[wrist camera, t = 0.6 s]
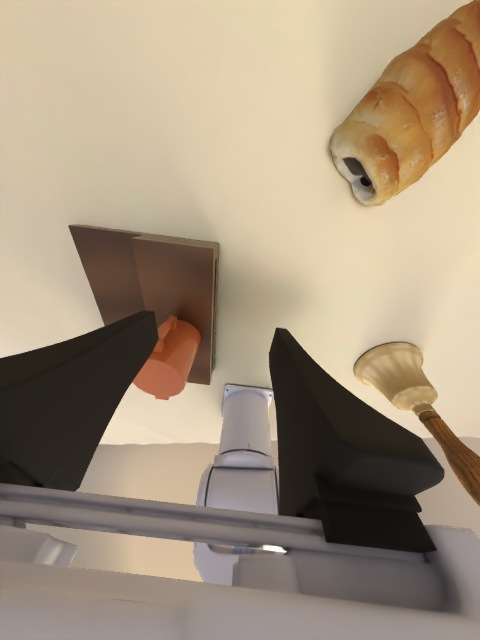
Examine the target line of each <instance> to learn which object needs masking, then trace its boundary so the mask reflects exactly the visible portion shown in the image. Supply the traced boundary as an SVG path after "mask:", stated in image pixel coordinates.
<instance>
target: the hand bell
mask: <svg viewBox="0 0 480 640" xmlns="http://www.w3.org/2000/svg"><path fill="white" fill-rule="evenodd" d="M422 364H423V356H422V353H421V351H420V350H419V348H417V347H416V346H414V345H412V344H408V343H399V342H398V343H389V344H385V345H381V346H378V347H376V348H373V349H371V350H370V351H368V352H367V353H365V354H364V355H363V356H362V357H360V359H359V360H358V361H357V363H356V364H355V367H354V374H355V376H356V378H357V379H358V380H359V381H361V382H362V383H364V384H366V385H369V386H373V387H375V388H376V389H378V390H379V391H380V392H381V393H382V394H383V395H384V396H385V397H386V398H387V399H388V400H389V401H390V402H391V403H392V405H393V406H395V407H396V408H398V409H401V410H406V411H413V412H414V413H415V414H416V415H417V416H418V417H419V420H420V421H421V422H422V423H423V424H424V426H425V427H426V428H427V429H428V430H429V432H430V433H431V434H432V435H433V436H434V438H435V439H436V440H437V441H438V443H439V444H440V446H441V448H442V449H443V451H444V453H445V455H446V458H447V460H448V462H449V464H450V466H451V468H452V470H453V471H454V473H455V475H456V476H457V478H458V479H459V481H460V482H461V484H462V485H463V487H464V488H465V489H466V491H467V492H468V493H469V495H470V496H471V497H472V498H473V499H474V501H475V502H476V503H477V504H478V505H479V506H480V457H479V456H478V455H477V454H475V453H474V452H473V451H472V450H470V449H469V448H467V447H466V446H465V445H464V444H463V443H462V442H461V441H460V440H459V439H458V438H457V437H456V436H455V435H454V433H453V432H452V431H451V430H450V428H449V427H448V426H447V425H446V423H445V422H444V421H443V420H442V419H441V417H440V416H439V415H438V414H437V412H436V411H435V410H434V409H433V407H432V406H431V404H432V403H434V402H435V400H436V399H437V396H438V394H437V391H436V390H435V389H434V387H433V386H432V385H431V384H430V382H429V381H428V379H427V378H426V376H425V375H424V373H423V370H422Z"/></svg>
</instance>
